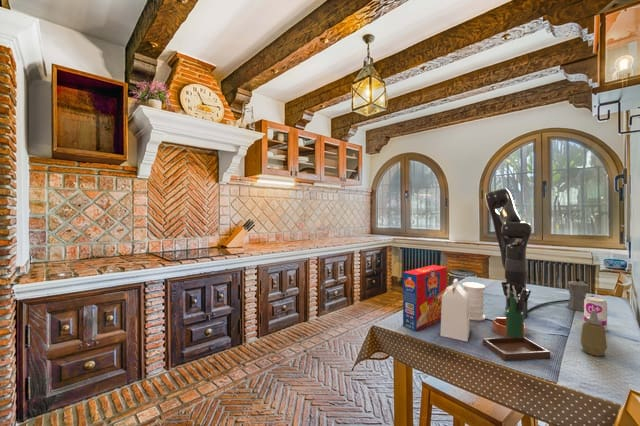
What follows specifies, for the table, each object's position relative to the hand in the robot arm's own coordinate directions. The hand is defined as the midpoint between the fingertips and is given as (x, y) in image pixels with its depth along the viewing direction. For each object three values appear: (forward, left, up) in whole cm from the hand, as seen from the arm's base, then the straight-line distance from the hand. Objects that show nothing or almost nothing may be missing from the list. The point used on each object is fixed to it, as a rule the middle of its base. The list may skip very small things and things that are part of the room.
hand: (515, 309), depth 121 cm
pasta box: (+24, -33, -18) cm, 45 cm away
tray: (0, 0, -18) cm, 18 cm away
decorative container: (-5, -36, -18) cm, 41 cm away
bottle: (0, 0, -11) cm, 11 cm away
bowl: (-10, -16, -18) cm, 26 cm away
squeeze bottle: (-31, +5, -18) cm, 36 cm away
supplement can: (-56, -16, -18) cm, 61 cm away
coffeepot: (-75, -42, -18) cm, 88 cm away
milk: (+16, -18, -18) cm, 30 cm away
